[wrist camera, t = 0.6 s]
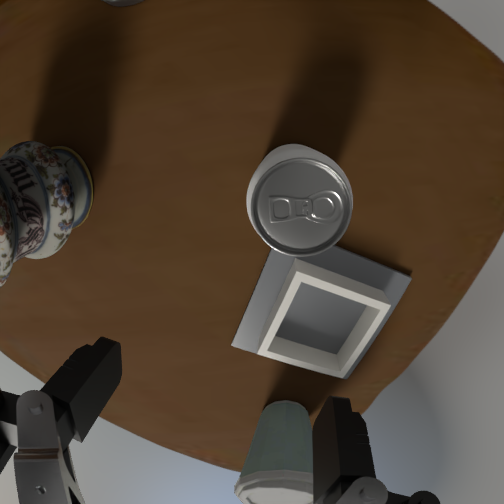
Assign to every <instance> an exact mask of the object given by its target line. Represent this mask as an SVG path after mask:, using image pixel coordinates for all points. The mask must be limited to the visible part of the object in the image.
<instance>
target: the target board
mask: <svg viewBox="0 0 504 504" xmlns="http://www.w3.org/2000/svg"><path fill="white" fill-rule="evenodd" d="M411 279H412V278H411V277H410V276H409V275H406V274H404V273H402V272H399V271H397V270H395V269H392V268H390V267H387V266H385V265H383V264H380V263H378V262H375V261H373V260H370V259H368V258H365V257H363V256H361V255H358V254H356V253H353V252H351V251H348V250H346V249H343V248H341V247H338V246H336V245H333V246H332V247H331V248H329V249H328V250H326V251H324V252H322V253H319V254H316V255H312V256H306V257H296V256H290V255H286V254H283V253H281V252H279V251H277V250H275V249H273V248H271V250H270V252H269V255H268V257H267V260H266V262H265V265H264V267H263V270H262V272H261V274H260V277H259V279H258V282H257V284H256V286H255V289H254V291H253V294H252V296H251V298H250V301H249V303H248V306H247V308H246V310H245V313H244V315H243V318H242V320H241V322H240V325H239V327H238V329H237V332H236V334H235V336H234V339H233V341H232V346H234V347H237V348H240V349H243V350H246V351H249V352H253V353H256V354H259V355H262V356H265V357H268V358H272V359H275V360H278V361H281V362H285V363H288V364H292V365H295V366H298V367H302V368H306V369H309V370H313V371H316V372H320V373H324V374H328V375H332V376H335V377H339V378H343V379H347V378H348V377H349V376H350V374H351V373H352V371H353V370H354V369H355V367H356V366H357V365H358V363H359V362H360V360H361V359H362V357H363V356H364V355H365V353H366V352H367V350H368V349H369V347H370V346H371V344H372V343H373V341H374V340H375V338H376V337H377V335H378V334H379V332H380V331H381V329H382V328H383V326H384V324H385V323H386V321H387V320H388V318H389V316H390V315H391V313H392V312H393V310H394V308H395V307H396V305H397V303H398V302H399V300H400V298H401V297H402V295H403V293H404V291H405V290H406V288H407V286H408V284H409V283H410V281H411Z"/></svg>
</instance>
